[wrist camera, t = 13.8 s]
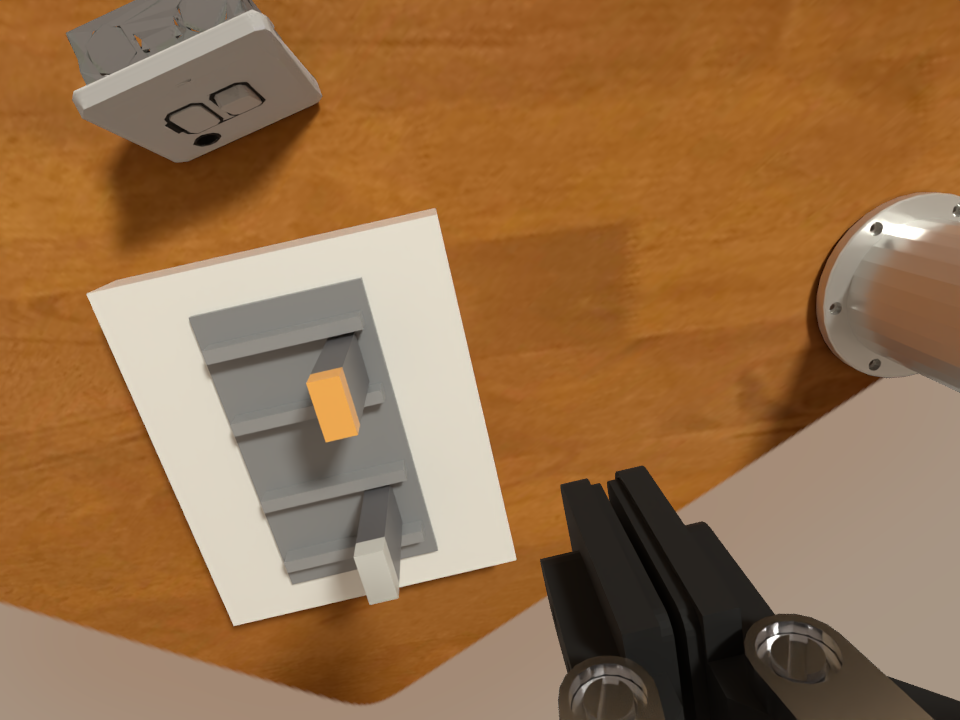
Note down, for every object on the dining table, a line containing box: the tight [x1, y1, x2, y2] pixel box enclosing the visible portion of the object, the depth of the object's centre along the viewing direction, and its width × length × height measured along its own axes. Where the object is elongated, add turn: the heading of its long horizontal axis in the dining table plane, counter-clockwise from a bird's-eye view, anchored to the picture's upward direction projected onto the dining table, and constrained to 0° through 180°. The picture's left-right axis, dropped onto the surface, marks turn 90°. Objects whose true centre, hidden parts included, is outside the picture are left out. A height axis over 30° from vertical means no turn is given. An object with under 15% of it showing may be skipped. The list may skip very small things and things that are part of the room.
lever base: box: [87, 208, 517, 626], centre depth 37 cm, size 20×24×11 cm
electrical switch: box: [66, 0, 322, 162], centre depth 31 cm, size 9×5×9 cm, turn 112°
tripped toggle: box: [306, 332, 370, 442], centre depth 33 cm, size 2×3×7 cm, turn 12°
